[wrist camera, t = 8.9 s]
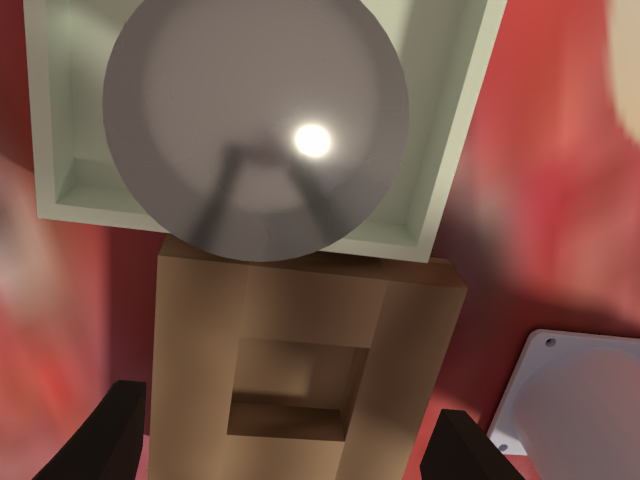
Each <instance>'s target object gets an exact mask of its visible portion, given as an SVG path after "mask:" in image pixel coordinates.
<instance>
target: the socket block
mask: <svg viewBox="0 0 640 480" xmlns="http://www.w3.org/2000/svg"><path fill="white" fill-rule="evenodd" d="M467 291H468V288H467V287H466V285H465V284H464V282H463V280H462V279H461V277H460V276H459V274H458V273H457V271H456V269H455V268H454V266H453V265H452V263H451V262H450V260H449V259H444V258H435V257H429V261H428V263H422V262H413V261H405V260H396V259H387V258H379V257H370V256H362V255H353V254H344V253H336V252H327V251H319V250H318V251H316V252H314V253H311V254H307V255H304V256H300V257H297V258H292V259H286V260H281V261H267V262H256V261H242V260H236V259H230V258H225V257H222V256H218V255H215V254H211V253H208V252H206V251H203V250H201V249H199V248H196V247H194V246H192V245H190V244H188V243H186V242H185V241H183V240H181V239H179V238H177V237H176V236H174V235H173V234H172V233H167V234H166V236H165V239H164V241H163V244H162V246H161V249H160V251H159V254H158V262H157V284H156V306H155V328H154V350H153V372H152V395H151V417H150V439H149V461H148V480H402V477H403V474H404V471H405V468H406V466H407V463H408V460H409V457H410V454H411V451H412V448H413V446H414V443H415V440H416V437H417V434H418V431H419V428H420V426H421V423H422V420H423V417H424V414H425V411H426V408H427V406H428V403H429V400H430V397H431V394H432V391H433V388H434V386H435V383H436V380H437V377H438V374H439V371H440V368H441V366H442V363H443V360H444V357H445V354H446V351H447V348H448V345H449V343H450V340H451V337H452V334H453V331H454V328H455V325H456V323H457V320H458V317H459V314H460V311H461V308H462V305H463V303H464V300H465V297H466V294H467Z"/></svg>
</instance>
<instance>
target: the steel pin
mask: <svg viewBox="0 0 640 480" xmlns="http://www.w3.org/2000/svg"><path fill="white" fill-rule="evenodd" d="M102 110H103V124H104V129H105V134H106V139H107V144H108V147H109V150H110V153H111V156H112V158H113V161H114V164H115V166H116V168H117V170H118V172H119V174H120V176H121V178H122V180H123V182H124V183H125V185H126V187H127V188H128V190H129V191H130V193H131V194H132V196H133V197H134V198H135V200H136V201H137V202H138V203H139V204H140V205H141V207H142V208H143V209H144V210H145V211H146V212H147V213H148V214H149V215H150V216H151V217H152V218H153V219H154V220H155V221H156V222H157V223H158V224H159V225H161V226H162V227H163V228H165V229H166V230H167V231H169V232H170V233H172V234H173V235H174V236H176V237H177V238H179V239H181V240H183V241H185V242H186V243H188V244H190V245H192V246H194V247H196V248H199V249H201V250H203V251H206V252H208V253H211V254H215V255H218V256H222V257H225V258H230V259H236V260H242V261H256V262H267V261H281V260H286V259H292V258H297V257H300V256H304V255H307V254H311V253H314V252H316V251H318V250H321V249H323V248H325V247H327V246H330V245H331V244H333V243H335V242H336V241H338V240H340V239H342V238H343V237H345V236H346V235H348V234H349V233H350V232H351V231H353V230H354V229H355V228H357V227H358V226H359V225H360V224H361V223H362V222H363V221H364V220H365V219H366V218H367V217H369V216H370V215H371V213H372V212H373V211H374V210H375V209H376V207H377V206H378V205H379V204H380V202H381V201H382V200H383V198H384V197H385V195H386V193H387V192H388V190H389V189H390V187H391V185H392V183H393V181H394V179H395V177H396V175H397V172H398V170H399V168H400V165H401V162H402V159H403V155H404V152H405V148H406V143H407V137H408V132H409V99H408V90H407V85H406V81H405V76H404V72H403V69H402V66H401V63H400V60H399V58H398V55H397V52H396V50H395V48H394V46H393V44H392V42H391V41H390V39H389V37H388V35H387V33H386V32H385V30H384V29H383V27H382V26H381V24H380V23H379V22H378V20H377V19H376V17H375V16H374V15H373V14H372V13H371V11H370V10H369V9H368V8H367V7H366V6H365V5H364V4H363V3H362V2H361V1H360V0H144V1H143V2H142V3H141V4H140V5H139V6H138V7H137V8H136V10H135V11H134V12H133V14H132V15H131V16H130V18H129V19H128V21H127V22H126V23H125V25H124V27H123V29H122V30H121V32H120V34H119V36H118V38H117V40H116V42H115V44H114V47H113V49H112V52H111V55H110V58H109V60H108V63H107V68H106V73H105V78H104V83H103V97H102Z"/></svg>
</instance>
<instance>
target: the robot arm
mask: <svg viewBox="0 0 640 480" xmlns="http://www.w3.org/2000/svg"><path fill="white" fill-rule="evenodd" d="M549 339H551V340H550V341H548V342H546V341H547V340H549ZM146 384H147V382H137V381H126V380H118V381H117V382H115V383H114V384H113V385H112V387H111V388H110V390H109V391H108V393H107V394H106V395H105V397H104V398H103V399H102V401H101V402H100V403H99V405H98V406H97V407H96V408H95V410H94V411H93V412H92V413H91V415H90V416H89V417H88V418H87V420H86V421H85V422H84V423H83V424H82V426H81V427H80V428H79V429H78V430H77V431H76V432H75V434H74V435H73V436H72V437H71V438H70V439H69V440H68V442H67V443H66V444H65V445H64V446H63V447H62V448H61V449H60V451H59V452H58V453H57V454H56V455H55V456H54V457H53V458H52V459H51V460H50V461H49V462H48V463H47V464H46V465H45V466H44V467H43V468H42V469H41V470H40V471H39V472H38V474H37V475H36V476H35V477H34V478H33V479H32V480H135V477H136V473H137V468H138V464H139V460H140V456H141V451H142V447H143V432H144V416H145V400H146ZM503 454H512V455H528V457H529V459H530V461H531V462H532V464H533V466H534V468H535V470H536V472H537V474H538V475H539V477H540V479H541V480H640V339H636V338H626V337H616V336H606V335H596V334H586V333H575V332H565V331H555V330H545V329H537V330H535V331H533V332H532V333H530V335H529V336H528V338H527V341H526V343H525V345H524V348H523V350H522V352H521V355H520V357H519V359H518V362H517V364H516V366H515V369H514V371H513V373H512V376H511V378H510V380H509V383H508V385H507V387H506V390H505V392H504V394H503V397H502V399H501V401H500V404H499V406H498V409H497V411H496V413H495V416H494V418H493V420H492V423H491V425H490V427H489V430H488V432H487V434H485V433H484V432H483V431H482V430H481V428H480V427H479V426H478V425H477V424H476V423H475V422H474V421H473V419H472V418H471V417H470V416H469V415H468V414H467V413H466V412H465V411H461V410H450V409H442V410H441V412H440V415H439V418H438V420H437V423H436V425H435V428H434V431H433V433H432V436H431V438H430V441H429V443H428V446H427V449H426V451H425V454H424V456H423V459H422V462H421V464H420V471H421V477H422V480H525V479H524V477H523V476H522V475H521V474H520V473H519V472H518V471H517V470H516V469H515V467H514V466H513V465H512V464H511V463H510V462H509V461H508V460H507V458H506V457H505V456H504V455H503Z"/></svg>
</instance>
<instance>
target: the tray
mask: <svg viewBox="0 0 640 480" xmlns="http://www.w3.org/2000/svg"><path fill="white" fill-rule="evenodd" d="M143 1H144V0H23V7H24V22H25V37H26V52H27V67H28V82H29V97H30V112H31V127H32V142H33V158H34V173H35V188H36V203H37V218H43V219H52V220H60V221H69V222H78V223H86V224H95V225H103V226H112V227H121V228H129V229H138V230H146V231H155V232H164V233H170V232H169V231H167V230H166V229H165V228H163V227H162V226H161V225H159V224H158V223H157V222H156V221H155V220H154V219H153V218H152V217H151V216H150V215H149V214H148V213H147V212H146V211H145V210H144V209H143V208H142V207H141V205H140V204H139V203H138V202H137V201H136V200H135V198H134V197H133V196H132V194H131V193H130V191H129V190H128V188H127V187H126V185H125V183H124V182H123V180H122V178H121V176H120V174H119V172H118V170H117V168H116V166H115V164H114V161H113V158H112V156H111V153H110V150H109V147H108V144H107V139H106V134H105V129H104V124H103V110H102V97H103V83H104V78H105V73H106V68H107V63H108V60H109V58H110V55H111V52H112V49H113V47H114V44H115V42H116V40H117V38H118V36H119V34H120V32H121V30H122V29H123V27H124V25H125V23H126V22H127V21H128V19H129V18H130V16H131V15H132V14H133V12H134V11H135V10H136V8H137V7H138V6H139V5H140V4H141V3H142V2H143ZM360 1H361V2H362V3H363V4H364V5H365V6H366V7H367V8H368V9H369V10H370V11H371V13H372V14H373V15H374V16H375V17H376V19H377V20H378V22H379V23H380V24H381V26H382V27H383V29H384V30H385V32H386V33H387V35H388V37H389V39H390V41H391V42H392V44H393V46H394V48H395V50H396V52H397V55H398V58H399V60H400V63H401V66H402V69H403V72H404V76H405V81H406V85H407V90H408V99H409V132H408V137H407V143H406V148H405V152H404V155H403V159H402V162H401V165H400V168H399V170H398V172H397V175H396V177H395V179H394V181H393V183H392V185H391V187H390V189H389V190H388V192H387V193H386V195H385V197H384V198H383V200H382V201H381V202H380V204H379V205H378V206H377V207H376V209H375V210H374V211H373V212H372V213H371V215H370V216H369V217H367V218H366V219H365V220H364V221H363V222H362V223H361V224H360V225H359V226H358V227H357V228H355V229H354V230H353V231H351V232H350V233H349V234H348V235H346V236H345V237H343V238H342V239H340V240H338V241H336V242H335V243H333V244H331V245H330V246H327V247H325V248H323V249H321V250H319V251H327V252H336V253H344V254H353V255H362V256H370V257H379V258H387V259H396V260H405V261H413V262H422V263H428V261H429V257H430V254H431V251H432V247H433V244H434V241H435V237H436V234H437V231H438V228H439V224H440V221H441V218H442V214H443V211H444V208H445V204H446V201H447V198H448V194H449V191H450V188H451V185H452V181H453V178H454V175H455V171H456V168H457V165H458V161H459V158H460V155H461V152H462V148H463V145H464V142H465V138H466V135H467V132H468V128H469V125H470V122H471V118H472V115H473V112H474V109H475V105H476V102H477V99H478V95H479V92H480V89H481V85H482V82H483V79H484V75H485V72H486V69H487V66H488V62H489V59H490V56H491V52H492V49H493V46H494V42H495V39H496V36H497V33H498V29H499V26H500V23H501V19H502V16H503V13H504V9H505V6H506V3H507V0H360Z"/></svg>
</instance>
